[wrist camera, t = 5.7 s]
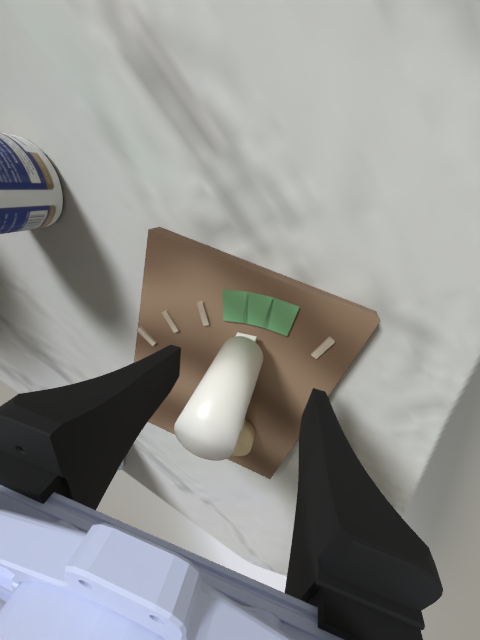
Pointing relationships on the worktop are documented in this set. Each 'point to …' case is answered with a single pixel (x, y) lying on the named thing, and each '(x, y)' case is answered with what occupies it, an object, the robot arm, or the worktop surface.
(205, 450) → the peg lever
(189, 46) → the worktop surface
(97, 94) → the worktop surface
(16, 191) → the pill bottle
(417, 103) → the worktop surface
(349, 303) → the tuner board
